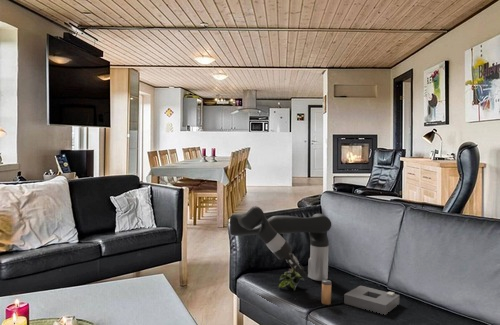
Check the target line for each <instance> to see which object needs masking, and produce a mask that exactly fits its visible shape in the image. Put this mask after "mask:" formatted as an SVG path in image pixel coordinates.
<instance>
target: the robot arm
mask: <svg viewBox="0 0 500 325" xmlns="http://www.w3.org/2000/svg"><path fill="white" fill-rule="evenodd" d="M331 228H332V222H331V220H330V218H329V217H328V216H327V215H325V214H323V213H315V214H313V215H312V216H310V217H299V216H295V215H294V216H293V215H272V216H270V217H269V218H267V216H266V215H265V213H264V211H263V209H262V208H261V207H259V206H257V205H253V206H251V207H250V208H249V210H247V211H246V212H237V213H233V214H231V215H230V218H229V232H230V233H229V234H230V235H231V236H236V237H239V236H240V237H242V236H253V235H257V236H258V238H259V239H260V240H261V241H262V242H263V243H264V244H265V245H266V247H267V248H268V249H269V250H270V252H272V254H274V256H275V257H276V258H277V259H278V260H279V261H282V260H284V259H285V261H286V263H287V264H288V265H289V266H290V267H291V269H292V268H293V269H294V270H295V272H298V273H299V274H300V275H301V276H302V277H303V279H305V278H306V277H307V278H309V279H311V280H314V281H319V282H322V280H329V279H328V275H329V274H328V272H329V242H330V240H329V238H328V232H329V231H330V230H331ZM297 233H309V240H310V253H309V258H308V260H307V261H308V265H307V273H306V271H305V267H304V266H303V265H302V264H301V263H300V262H299V260H298V257H296V256H295V254H294V253H292V251H293V247H292V245H291V244H289V243H288V242H287V241H286V240H285V238H284V237H283V236H282V235H285V234H287V235H288V234H297Z"/></svg>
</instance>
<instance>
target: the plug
mask: <svg viewBox="0 0 500 325" xmlns="http://www.w3.org/2000/svg"><path fill="white" fill-rule="evenodd" d="M320 299H321V304H322V305H325V306H329V305H331V304H332V303H331V302H332V281H331V280H329V279H327V280H322V281H321V298H320Z"/></svg>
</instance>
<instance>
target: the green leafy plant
mask: <svg viewBox="0 0 500 325" xmlns="http://www.w3.org/2000/svg"><path fill="white" fill-rule="evenodd" d="M281 280H282V281H281ZM279 281H281V282H280V283H279V285H278V288H279V289H282V288H285V287H287V286H289V285H290V287H291V288H292V289H293V292H295V291H296V288H297V286H298V285H299V283H300V282H301V281H303V282H304V281H305V278H303V277H302V276H301V275H300V274H299V273H298V272H295V270H294V269H293V268H292V267H291V268H288V270H287V271H284V274H281V276H280V277H279Z"/></svg>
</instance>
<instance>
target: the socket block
mask: <svg viewBox="0 0 500 325" xmlns="http://www.w3.org/2000/svg"><path fill="white" fill-rule="evenodd" d="M343 297H344V301H343V304H344V305H349V306H352V307H355V308H358V309H361V310H365V309H366V310H365V311H369V310H370V311H369V312H372V311H373V312H372V313H376V312H377V313H376V314H379V313H380V315H383V314H384V315H383V316H386V315H387V314H389V313H390V312H391V311H392V310H393V309H395V308H396V307H397V305H398V306H399V305H400V294H397V293H395V292H393V291H385V290H382V289H381V290H380V289H376V288H372V287H368V286H364V285H359V286H357V287H355V288H353V289H351V290H349V291H347V292H346V293H344V294H343ZM388 312H389V313H388Z"/></svg>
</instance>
